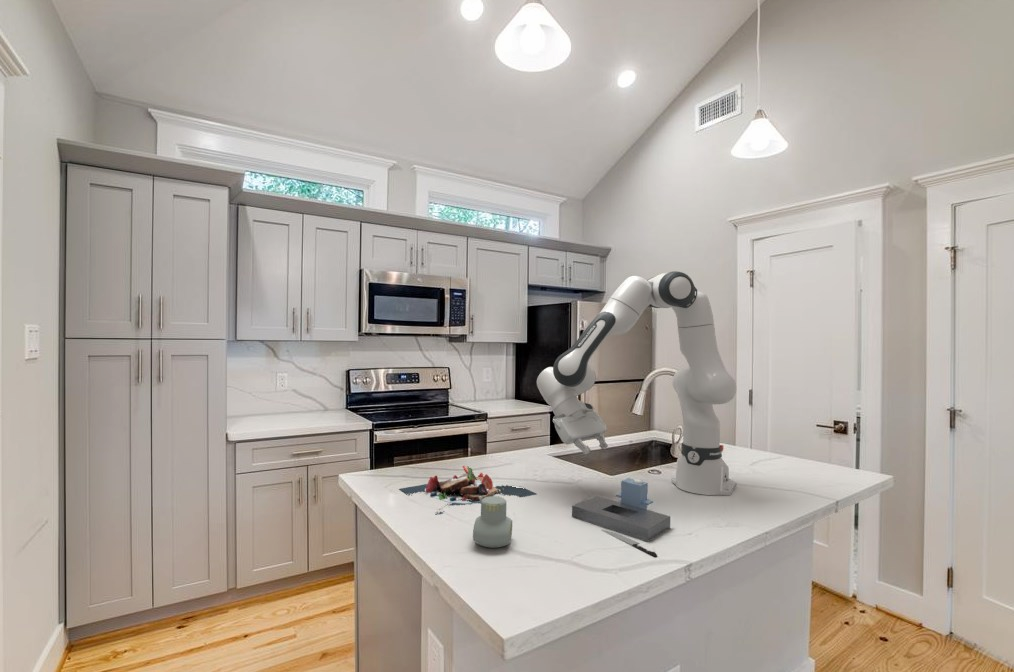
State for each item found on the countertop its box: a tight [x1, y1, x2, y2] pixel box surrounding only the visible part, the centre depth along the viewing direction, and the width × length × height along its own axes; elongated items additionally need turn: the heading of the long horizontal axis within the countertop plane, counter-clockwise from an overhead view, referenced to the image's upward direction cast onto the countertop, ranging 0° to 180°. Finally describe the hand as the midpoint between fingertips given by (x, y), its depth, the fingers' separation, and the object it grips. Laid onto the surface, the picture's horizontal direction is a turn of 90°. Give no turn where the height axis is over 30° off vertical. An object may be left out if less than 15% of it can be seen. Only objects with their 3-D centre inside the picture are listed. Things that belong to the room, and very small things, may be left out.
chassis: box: [571, 495, 671, 543], centre depth 130 cm, size 12×22×3 cm, turn 47°
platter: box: [398, 465, 537, 516], centre depth 152 cm, size 35×27×9 cm
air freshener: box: [472, 495, 513, 549], centre depth 115 cm, size 11×8×10 cm
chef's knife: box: [601, 529, 658, 558], centre depth 118 cm, size 19×1×3 cm
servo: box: [615, 477, 654, 510], centre depth 139 cm, size 4×10×9 cm, turn 47°
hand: (597, 450), depth 147 cm, fingers open, 8 cm apart
